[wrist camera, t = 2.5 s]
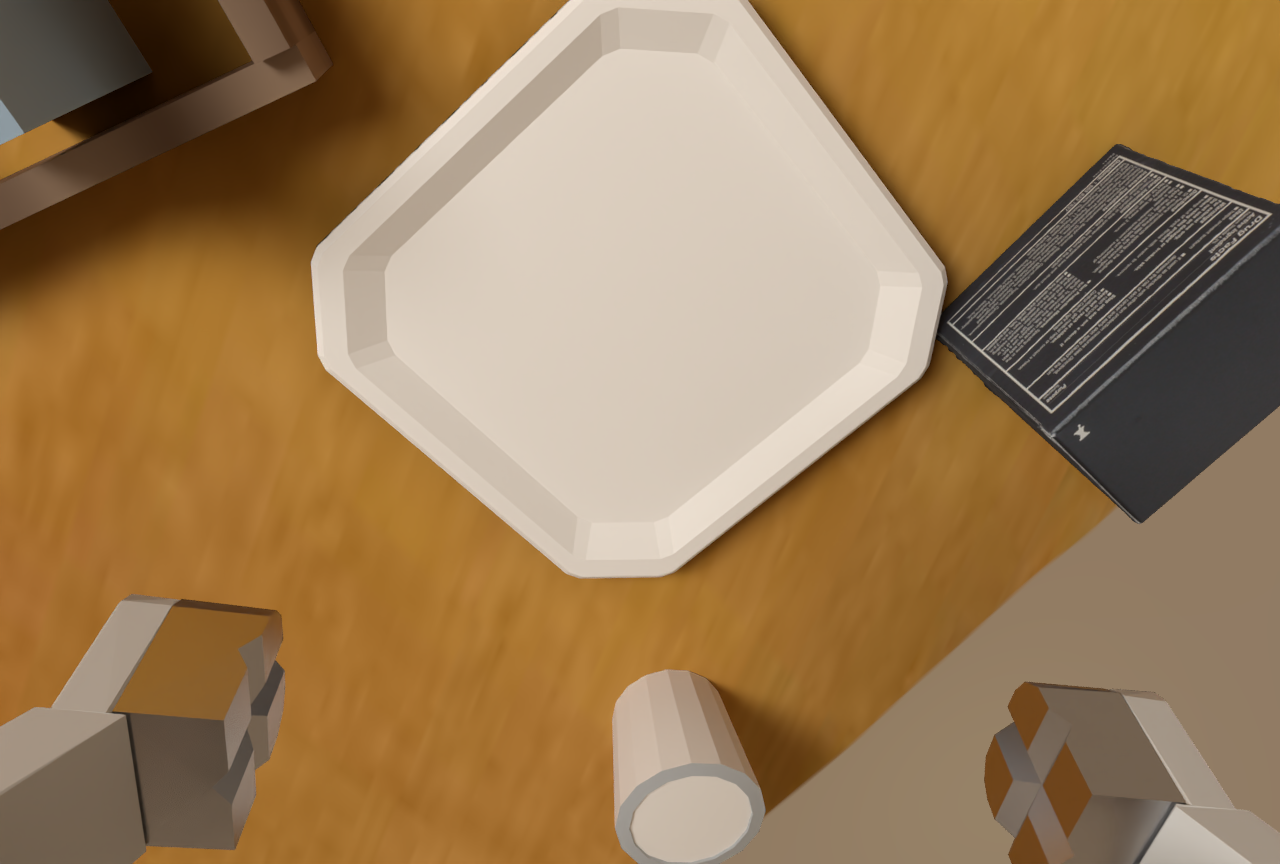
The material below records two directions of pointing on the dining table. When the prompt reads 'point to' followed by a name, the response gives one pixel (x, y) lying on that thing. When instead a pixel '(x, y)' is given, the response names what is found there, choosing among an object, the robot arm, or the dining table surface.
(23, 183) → the frame
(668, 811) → the white cup
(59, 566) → the dining table surface
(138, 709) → the robot arm
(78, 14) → the slate blue block
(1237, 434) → the small box
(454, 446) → the plate
